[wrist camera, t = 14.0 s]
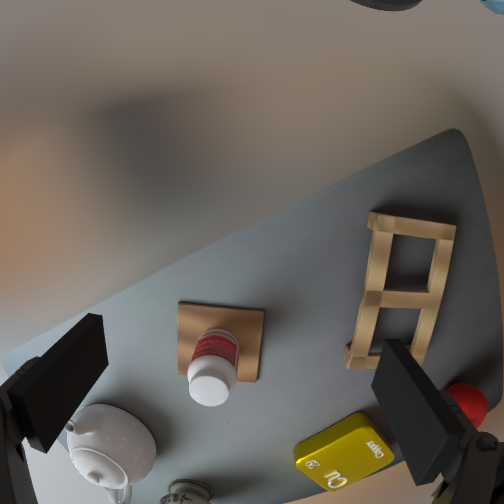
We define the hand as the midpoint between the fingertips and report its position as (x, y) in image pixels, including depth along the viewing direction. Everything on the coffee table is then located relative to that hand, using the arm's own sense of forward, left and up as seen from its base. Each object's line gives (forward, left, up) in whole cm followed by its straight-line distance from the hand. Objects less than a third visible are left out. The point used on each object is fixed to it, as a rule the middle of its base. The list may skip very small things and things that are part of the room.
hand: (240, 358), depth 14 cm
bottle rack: (+6, +22, -29) cm, 37 cm away
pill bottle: (+16, -3, -29) cm, 33 cm away
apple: (+26, +40, -29) cm, 56 cm away
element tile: (+38, +21, -29) cm, 52 cm away
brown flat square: (+16, -3, -29) cm, 33 cm away
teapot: (+40, -22, -29) cm, 54 cm away
